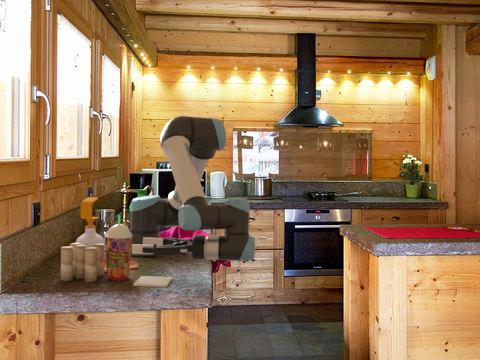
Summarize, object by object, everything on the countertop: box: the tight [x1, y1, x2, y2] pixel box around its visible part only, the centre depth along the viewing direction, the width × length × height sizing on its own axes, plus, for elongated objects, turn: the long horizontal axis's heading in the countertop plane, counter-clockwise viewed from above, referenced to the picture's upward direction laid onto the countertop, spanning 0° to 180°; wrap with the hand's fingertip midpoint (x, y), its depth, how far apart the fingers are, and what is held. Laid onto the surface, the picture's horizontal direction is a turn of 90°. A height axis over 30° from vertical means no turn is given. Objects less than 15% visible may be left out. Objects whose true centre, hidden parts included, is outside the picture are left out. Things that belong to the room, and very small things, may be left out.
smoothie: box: [104, 214, 132, 282], centre depth 148 cm, size 8×8×20 cm
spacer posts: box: [60, 242, 106, 283], centre depth 149 cm, size 11×11×10 cm
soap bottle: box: [75, 196, 105, 248], centre depth 160 cm, size 9×9×25 cm
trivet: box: [133, 275, 174, 288], centre depth 145 cm, size 10×10×1 cm
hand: (137, 245), depth 147 cm, fingers open, 13 cm apart
